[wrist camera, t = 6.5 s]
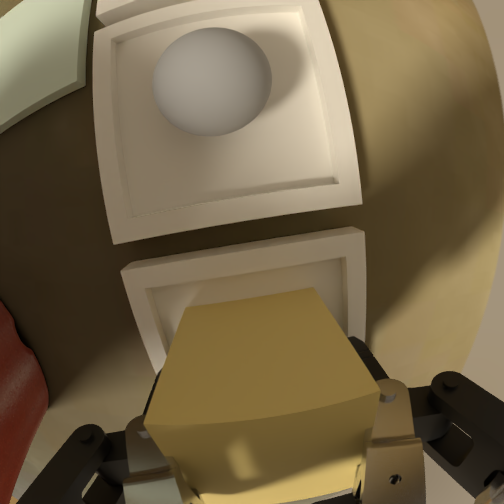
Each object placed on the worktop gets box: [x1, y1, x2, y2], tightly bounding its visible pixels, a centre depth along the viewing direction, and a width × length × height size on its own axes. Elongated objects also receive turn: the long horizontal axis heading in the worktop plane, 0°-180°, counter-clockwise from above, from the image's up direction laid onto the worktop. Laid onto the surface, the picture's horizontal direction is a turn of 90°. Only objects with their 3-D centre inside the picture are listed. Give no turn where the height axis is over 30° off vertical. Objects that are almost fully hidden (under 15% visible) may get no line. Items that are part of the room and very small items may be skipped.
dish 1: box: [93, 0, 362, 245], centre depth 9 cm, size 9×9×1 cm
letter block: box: [143, 287, 381, 504], centre depth 8 cm, size 5×5×6 cm
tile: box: [0, 0, 92, 134], centre depth 7 cm, size 9×9×1 cm
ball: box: [152, 27, 272, 136], centre depth 7 cm, size 4×4×4 cm
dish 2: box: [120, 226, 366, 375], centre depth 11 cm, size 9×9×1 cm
